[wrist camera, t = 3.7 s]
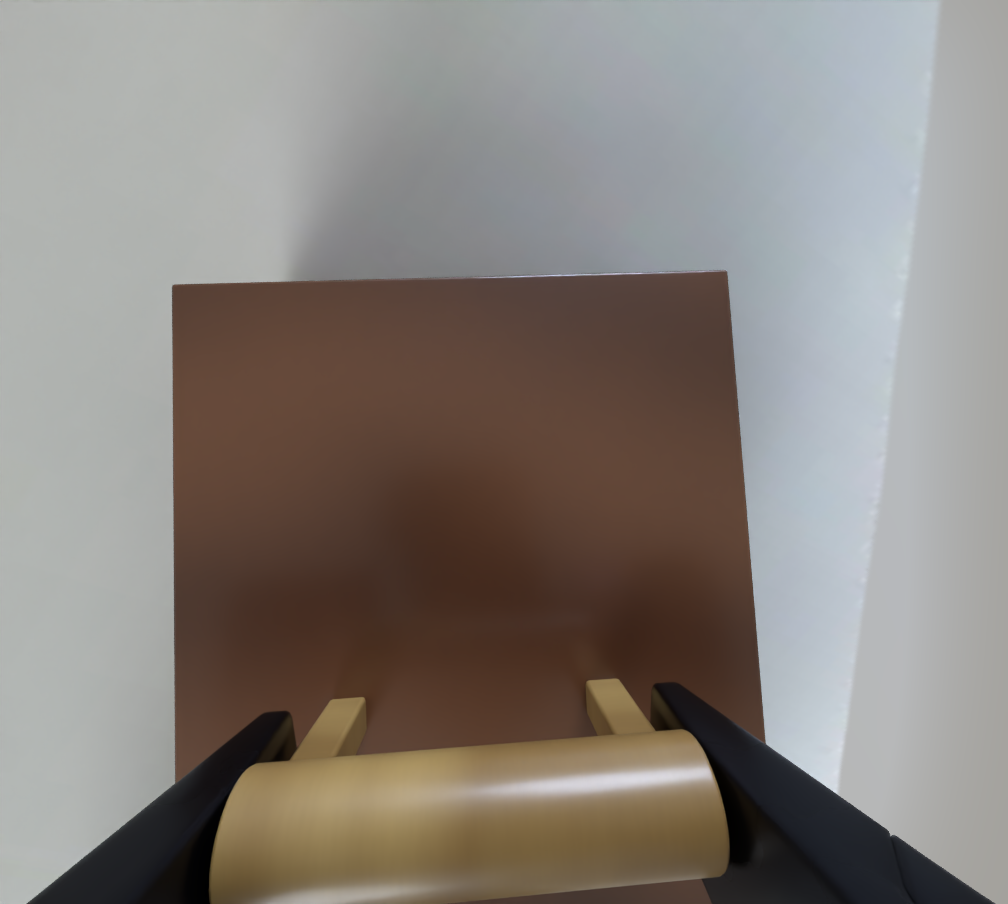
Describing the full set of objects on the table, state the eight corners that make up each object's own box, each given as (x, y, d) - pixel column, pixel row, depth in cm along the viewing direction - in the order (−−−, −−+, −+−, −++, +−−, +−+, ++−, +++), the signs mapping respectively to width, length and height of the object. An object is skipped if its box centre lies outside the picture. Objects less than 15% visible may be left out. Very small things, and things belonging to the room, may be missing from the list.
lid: (761, 933, 10) (1009, 1325, 5) (199, 992, 10) (-75, 1494, 5) (710, 283, 11) (884, 134, 6) (193, 298, 11) (-44, 144, 6)
